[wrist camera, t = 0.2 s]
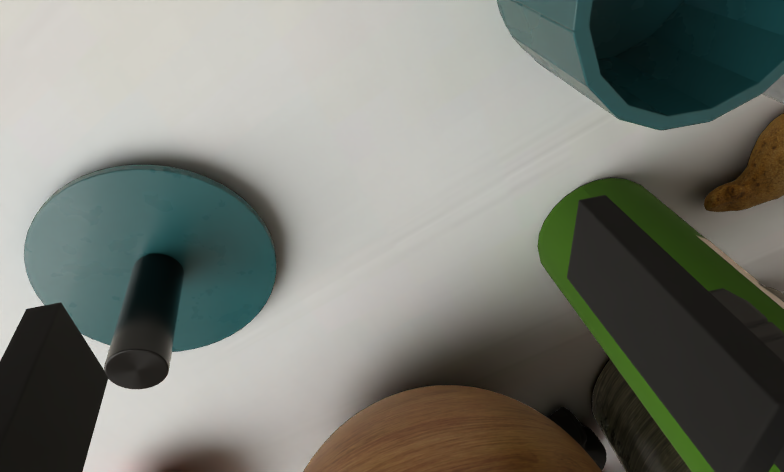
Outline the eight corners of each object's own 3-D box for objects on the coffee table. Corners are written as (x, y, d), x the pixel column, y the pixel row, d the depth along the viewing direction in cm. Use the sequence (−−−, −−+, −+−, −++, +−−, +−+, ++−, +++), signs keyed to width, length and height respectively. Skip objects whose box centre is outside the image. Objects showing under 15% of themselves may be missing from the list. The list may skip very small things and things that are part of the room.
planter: (755, 406, 59) (941, 606, 43) (573, 455, 57) (700, 688, 41) (834, 255, 46) (1143, 464, 30) (602, 311, 44) (806, 572, 28)
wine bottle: (667, 223, 39) (1454, 905, 14) (570, 294, 42) (1089, 994, 16) (619, 150, 35) (1709, 1004, 9) (512, 236, 37) (1125, 1111, 11)
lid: (-20, 183, 27) (-113, 294, 20) (247, 139, 29) (246, 227, 22) (91, 358, 35) (52, 480, 28) (294, 315, 37) (304, 420, 30)
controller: (562, 471, 59) (487, 484, 55) (612, 396, 53) (532, 404, 49) (585, 507, 56) (507, 524, 52) (641, 431, 50) (557, 443, 46)
